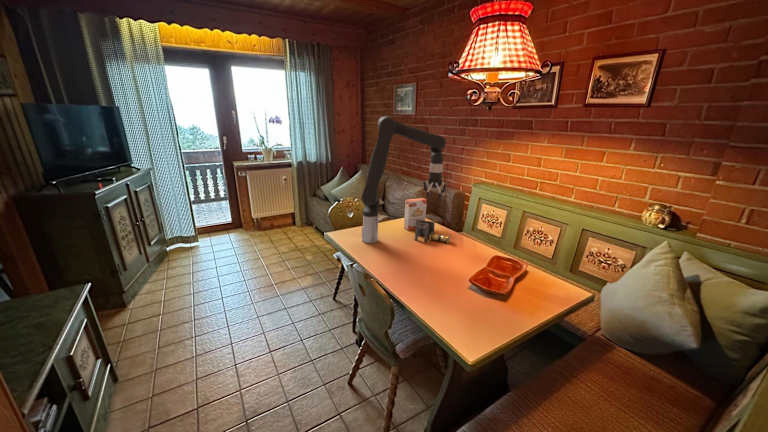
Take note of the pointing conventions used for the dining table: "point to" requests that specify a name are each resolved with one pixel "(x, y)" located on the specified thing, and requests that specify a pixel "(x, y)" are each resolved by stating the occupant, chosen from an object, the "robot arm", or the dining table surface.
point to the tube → (439, 237)
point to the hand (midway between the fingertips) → (433, 198)
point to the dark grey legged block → (424, 229)
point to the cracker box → (414, 212)
